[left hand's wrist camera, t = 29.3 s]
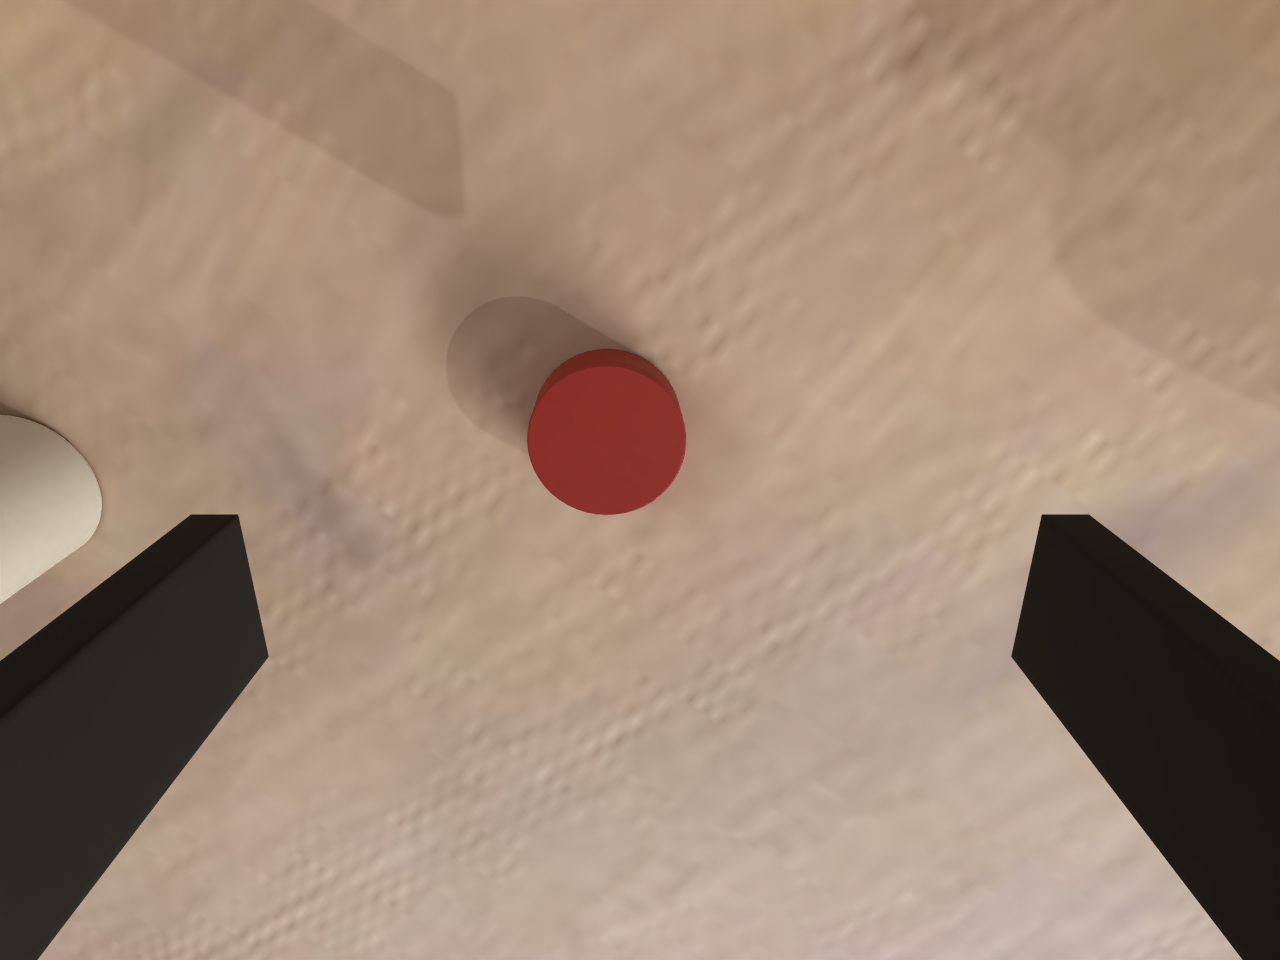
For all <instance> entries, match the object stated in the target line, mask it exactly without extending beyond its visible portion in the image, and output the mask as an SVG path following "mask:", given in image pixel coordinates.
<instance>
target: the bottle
mask: <svg viewBox="0 0 1280 960" xmlns="http://www.w3.org/2000/svg"><path fill="white" fill-rule="evenodd" d="M101 511H102V497H101V492H100V488H99V485H98V482H97V479H96V477H95V475H94V473H93V471H92V469H91V467H90V466H89V464H88V463H87V461H86V460H85V459H84V457H83V456H82V455H81V454H80V453H79V452H78V451H77V450H76V448H75V447H74V446H73V445H71V444H70V443H69V442H68V441H67V440H65V439H64V438H63V437H62V436H60V435H59V434H57V433H56V432H54V431H52V430H51V429H49V428H47V427H45V426H43V425H41V424H38V423H36V422H34V421H31V420H27V419H24V418H21V417H15V416H10V415H0V604H1V603H2V602H4V601H5V600H6V599H8V598H9V597H11V596H12V595H13V594H15V593H16V592H18V591H19V590H21V589H22V588H23V587H25V586H26V585H28V584H29V583H30V582H32V581H33V580H35V579H36V578H37V577H39V576H40V575H42V574H43V573H44V572H46V571H47V570H49V569H50V568H51V567H53V566H54V565H56V564H57V563H58V562H60V561H61V560H63V559H64V558H65V557H67V556H68V555H70V554H71V553H72V552H74V551H75V550H77V549H78V548H80V547H81V546H82V545H84V544H85V543H86V542H87V541H88V540H89V539H90V538H91V536H92V535H93V534H94V532H95V530H96V528H97V526H98V524H99V520H100V517H101Z"/></svg>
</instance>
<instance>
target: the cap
mask: <svg viewBox="0 0 1280 960" xmlns="http://www.w3.org/2000/svg"><path fill="white" fill-rule="evenodd" d="M527 443H528V452H529V456H530V460H531V463H532V466H533V468H534V470H535V472H536V474H537V476H538V478H539V479H540V481H541V482H542V483H543V485H544V486H545V487H546V488H547V489H548V490H549V491H550V492H551V493H552V494H553V495H554V496H555V497H557V498H558V499H559V500H561V501H562V502H564V503H565V504H567V505H569V506H571V507H573V508H576V509H578V510H581V511H584V512H588V513H593V514H602V515H613V514H621V513H627V512H630V511H633V510H636V509H639V508H641V507H643V506H645V505H647V504H649V503H650V502H652V501H654V500H655V499H656V498H658V497H659V496H660V495H661V494H662V493H663V492H664V491H665V490H666V489H667V488H668V487H669V486H670V485H671V483H672V482H673V481H674V479H675V477H676V476H677V474H678V472H679V470H680V467H681V465H682V462H683V459H684V455H685V448H686V432H685V426H684V422H683V418H682V414H681V410H680V407H679V403H678V400H677V396H676V394H675V392H674V390H673V388H672V386H671V384H670V383H669V381H668V380H667V378H666V377H665V376H664V375H663V374H662V372H661V371H660V370H658V369H657V368H656V367H655V366H654V365H653V364H651V363H650V362H648V361H647V360H645V359H643V358H641V357H639V356H637V355H634V354H632V353H629V352H625V351H620V350H612V349H603V350H594V351H588V352H585V353H582V354H579V355H577V356H575V357H573V358H571V359H569V360H567V361H566V362H564V363H563V364H561V365H560V366H559V367H558V368H557V369H556V370H554V372H553V373H552V374H551V375H550V376H549V377H548V379H547V380H546V382H545V383H544V385H543V386H542V388H541V390H540V392H539V395H538V398H537V401H536V404H535V407H534V410H533V413H532V416H531V419H530V422H529V428H528V439H527Z"/></svg>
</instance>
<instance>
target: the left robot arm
mask: <svg viewBox="0 0 1280 960" xmlns="http://www.w3.org/2000/svg"><path fill="white" fill-rule="evenodd" d="M268 657H269V656H268V651H267V647H266V642H265V637H264V633H263V628H262V623H261V619H260V614H259V610H258V605H257V600H256V596H255V591H254V586H253V582H252V577H251V572H250V568H249V563H248V558H247V554H246V549H245V544H244V540H243V535H242V530H241V526H240V521H239V516H238V515H190V516H189V517H187V518H186V519H185V520H183V521H182V522H181V523H180V524H178V525H177V526H176V527H174V528H173V529H172V530H170V531H169V532H168V533H167V534H165V535H164V536H163V537H161V538H160V539H159V540H157V541H156V542H155V543H154V544H152V545H151V546H150V547H148V548H147V549H146V550H144V551H143V552H142V553H140V554H139V555H138V556H137V557H135V558H134V559H133V560H131V561H130V562H129V563H127V564H126V565H125V566H124V567H122V568H121V569H120V570H118V571H117V572H116V573H114V574H113V575H112V576H111V577H109V578H108V579H107V580H105V581H104V582H103V583H101V584H100V585H99V586H98V587H96V588H95V589H94V590H92V591H91V592H90V593H88V594H87V595H86V596H84V597H83V598H82V599H81V600H79V601H78V602H77V603H75V604H74V605H73V606H71V607H70V608H69V609H68V610H66V611H65V612H64V613H62V614H61V615H60V616H58V617H57V618H56V619H55V620H53V621H52V622H51V623H49V624H48V625H47V626H45V627H44V628H43V629H42V630H40V631H39V632H38V633H36V634H35V635H34V636H32V637H31V638H30V639H28V640H27V641H26V642H25V643H23V644H22V645H21V646H19V647H18V648H17V649H15V650H14V651H13V652H12V653H10V654H9V655H8V656H6V657H5V658H4V659H2V660H1V661H0V960H38V958H39V957H40V956H41V954H42V953H43V952H44V950H45V949H46V948H47V946H48V945H49V944H50V943H51V941H52V940H53V939H54V937H55V936H56V935H57V933H58V932H59V931H60V929H61V928H62V927H63V925H64V924H65V923H66V922H67V920H68V919H69V918H70V916H71V915H72V914H73V912H74V911H75V910H76V908H77V907H78V906H79V905H80V903H81V902H82V901H83V899H84V898H85V897H86V895H87V894H88V893H89V891H90V890H91V889H92V887H93V886H94V885H95V884H96V882H97V881H98V880H99V878H100V877H101V876H102V874H103V873H104V872H105V870H106V869H107V868H108V867H109V865H110V864H111V863H112V861H113V860H114V859H115V857H116V856H117V855H118V853H119V852H120V851H121V849H122V848H123V847H124V846H125V844H126V843H127V842H128V840H129V839H130V838H131V836H132V835H133V834H134V832H135V831H136V830H137V829H138V827H139V826H140V825H141V823H142V822H143V821H144V819H145V818H146V817H147V815H148V814H149V813H150V811H151V810H152V809H153V808H154V806H155V805H156V804H157V802H158V801H159V800H160V798H161V797H162V796H163V794H164V793H165V792H166V790H167V789H168V788H169V787H170V785H171V784H172V783H173V781H174V780H175V779H176V777H177V776H178V775H179V773H180V772H181V771H182V770H183V768H184V767H185V766H186V764H187V763H188V762H189V760H190V759H191V758H192V756H193V755H194V754H195V752H196V751H197V750H198V749H199V747H200V746H201V745H202V743H203V742H204V741H205V739H206V738H207V737H208V735H209V734H210V733H211V732H212V730H213V729H214V728H215V726H216V725H217V724H218V722H219V721H220V720H221V718H222V717H223V716H224V714H225V713H226V712H227V711H228V709H229V708H230V707H231V705H232V704H233V703H234V701H235V700H236V699H237V697H238V696H239V695H240V694H241V692H242V691H243V690H244V688H245V687H246V686H247V684H248V683H249V682H250V680H251V679H252V678H253V676H254V675H255V674H256V673H257V671H258V670H259V669H260V667H261V666H262V665H263V663H264V662H265V661H266V659H267V658H268ZM1011 657H1012V658H1013V659H1014V661H1015V662H1016V663H1017V665H1018V666H1019V667H1020V669H1021V670H1022V671H1023V673H1024V674H1025V675H1026V676H1027V678H1028V679H1029V680H1030V682H1031V683H1032V684H1033V686H1034V687H1035V688H1036V690H1037V691H1038V692H1039V694H1040V695H1041V696H1042V697H1043V699H1044V700H1045V701H1046V703H1047V704H1048V705H1049V707H1050V708H1051V709H1052V711H1053V712H1054V713H1055V714H1056V716H1057V717H1058V718H1059V720H1060V721H1061V722H1062V724H1063V725H1064V726H1065V728H1066V729H1067V730H1068V732H1069V733H1070V734H1071V735H1072V737H1073V738H1074V739H1075V741H1076V742H1077V743H1078V745H1079V746H1080V747H1081V749H1082V750H1083V751H1084V752H1085V754H1086V755H1087V756H1088V758H1089V759H1090V760H1091V762H1092V763H1093V764H1094V766H1095V767H1096V768H1097V770H1098V771H1099V772H1100V773H1101V775H1102V776H1103V777H1104V779H1105V780H1106V781H1107V783H1108V784H1109V785H1110V787H1111V788H1112V789H1113V790H1114V792H1115V793H1116V794H1117V796H1118V797H1119V798H1120V800H1121V801H1122V802H1123V804H1124V805H1125V806H1126V808H1127V809H1128V810H1129V811H1130V813H1131V814H1132V815H1133V817H1134V818H1135V819H1136V821H1137V822H1138V823H1139V825H1140V826H1141V827H1142V829H1143V830H1144V831H1145V832H1146V834H1147V835H1148V836H1149V838H1150V839H1151V840H1152V842H1153V843H1154V844H1155V846H1156V847H1157V848H1158V849H1159V851H1160V852H1161V853H1162V855H1163V856H1164V857H1165V859H1166V860H1167V861H1168V863H1169V864H1170V865H1171V867H1172V868H1173V869H1174V870H1175V872H1176V873H1177V874H1178V876H1179V877H1180V878H1181V880H1182V881H1183V882H1184V884H1185V885H1186V886H1187V887H1188V889H1189V890H1190V891H1191V893H1192V894H1193V895H1194V897H1195V898H1196V899H1197V901H1198V902H1199V903H1200V905H1201V906H1202V907H1203V908H1204V910H1205V911H1206V912H1207V914H1208V915H1209V916H1210V918H1211V919H1212V920H1213V922H1214V923H1215V924H1216V925H1217V927H1218V928H1219V929H1220V931H1221V932H1222V933H1223V935H1224V936H1225V937H1226V939H1227V940H1228V941H1229V943H1230V944H1231V945H1232V946H1233V948H1234V949H1235V950H1236V952H1237V953H1238V954H1239V956H1240V957H1241V958H1242V960H1280V661H1279V660H1278V659H1276V658H1275V657H1274V656H1272V655H1271V654H1270V653H1268V652H1267V651H1266V650H1265V649H1263V648H1262V647H1261V646H1259V645H1258V644H1257V643H1255V642H1254V641H1253V640H1252V639H1250V638H1249V637H1248V636H1246V635H1245V634H1244V633H1242V632H1241V631H1240V630H1238V629H1237V628H1236V627H1235V626H1233V625H1232V624H1231V623H1229V622H1228V621H1227V620H1225V619H1224V618H1223V617H1222V616H1220V615H1219V614H1218V613H1216V612H1215V611H1214V610H1212V609H1211V608H1210V607H1209V606H1207V605H1206V604H1205V603H1203V602H1202V601H1201V600H1199V599H1198V598H1197V597H1196V596H1194V595H1193V594H1192V593H1190V592H1189V591H1188V590H1186V589H1185V588H1184V587H1182V586H1181V585H1180V584H1179V583H1177V582H1176V581H1175V580H1173V579H1172V578H1171V577H1169V576H1168V575H1167V574H1166V573H1164V572H1163V571H1162V570H1160V569H1159V568H1158V567H1156V566H1155V565H1154V564H1153V563H1151V562H1150V561H1149V560H1147V559H1146V558H1145V557H1143V556H1142V555H1141V554H1140V553H1138V552H1137V551H1136V550H1134V549H1133V548H1132V547H1130V546H1129V545H1128V544H1126V543H1125V542H1124V541H1123V540H1121V539H1120V538H1119V537H1117V536H1116V535H1115V534H1113V533H1112V532H1111V531H1110V530H1108V529H1107V528H1106V527H1104V526H1103V525H1102V524H1100V523H1099V522H1098V521H1097V520H1095V519H1094V518H1093V517H1091V516H1090V515H1042V516H1041V521H1040V526H1039V530H1038V535H1037V540H1036V544H1035V549H1034V554H1033V558H1032V563H1031V568H1030V572H1029V577H1028V582H1027V586H1026V591H1025V596H1024V600H1023V605H1022V610H1021V614H1020V619H1019V623H1018V628H1017V633H1016V637H1015V642H1014V647H1013V651H1012V656H1011Z"/></svg>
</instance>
